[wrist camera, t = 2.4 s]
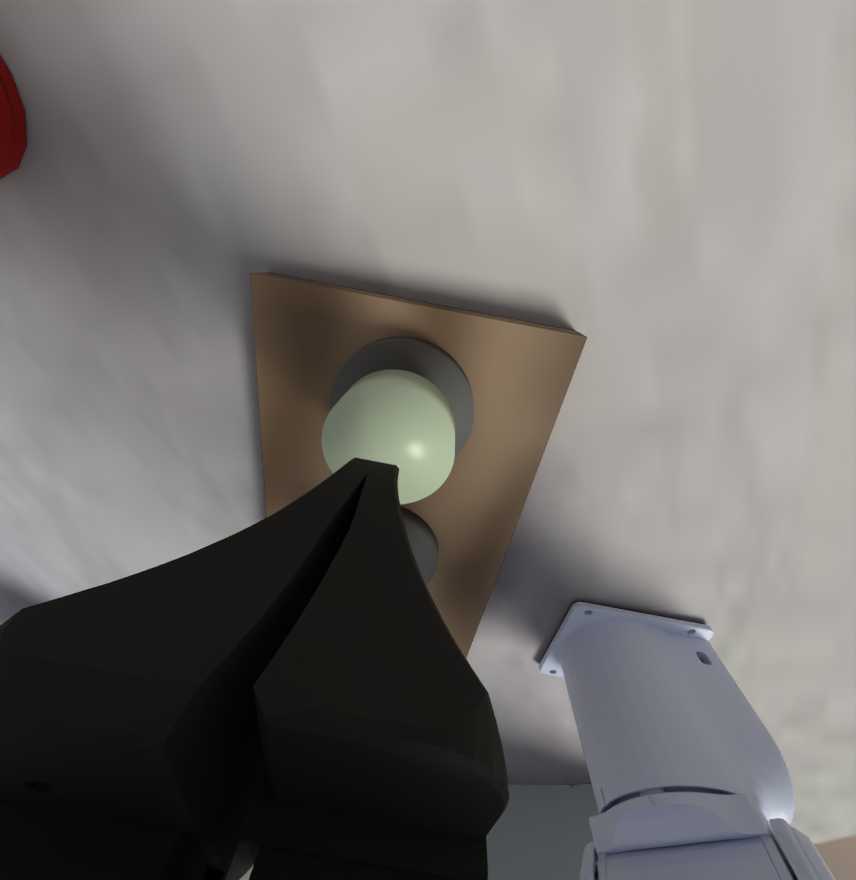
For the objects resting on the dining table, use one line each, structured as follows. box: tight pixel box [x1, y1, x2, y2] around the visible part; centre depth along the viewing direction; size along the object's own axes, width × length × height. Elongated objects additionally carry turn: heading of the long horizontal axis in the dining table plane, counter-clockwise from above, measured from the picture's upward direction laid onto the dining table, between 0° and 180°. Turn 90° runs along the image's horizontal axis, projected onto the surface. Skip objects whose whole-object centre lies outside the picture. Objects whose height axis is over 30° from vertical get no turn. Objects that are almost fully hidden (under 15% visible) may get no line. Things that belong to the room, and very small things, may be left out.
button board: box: [250, 273, 587, 658], centre depth 20 cm, size 14×27×2 cm, turn 170°
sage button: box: [321, 369, 455, 504], centre depth 13 cm, size 5×5×2 cm
